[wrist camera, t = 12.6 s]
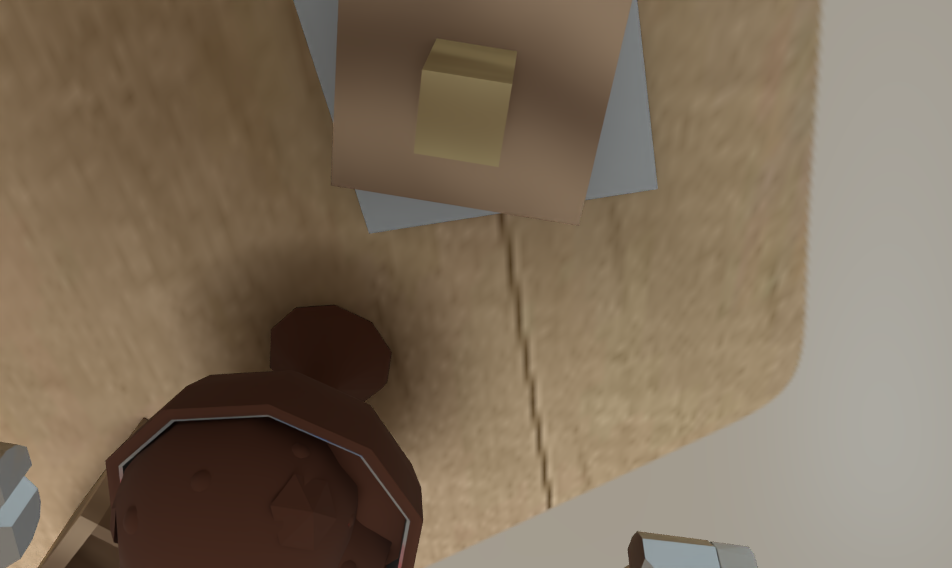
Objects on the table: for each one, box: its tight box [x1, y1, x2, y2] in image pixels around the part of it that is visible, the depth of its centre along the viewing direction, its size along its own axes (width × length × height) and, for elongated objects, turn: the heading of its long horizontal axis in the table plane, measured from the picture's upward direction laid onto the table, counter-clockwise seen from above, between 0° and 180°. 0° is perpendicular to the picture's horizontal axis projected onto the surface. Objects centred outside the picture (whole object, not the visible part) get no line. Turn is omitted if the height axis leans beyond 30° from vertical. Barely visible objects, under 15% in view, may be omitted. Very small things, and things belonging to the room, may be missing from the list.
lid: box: [331, 0, 632, 226], centre depth 25 cm, size 9×9×4 cm
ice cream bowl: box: [106, 305, 423, 568], centre depth 29 cm, size 11×11×15 cm
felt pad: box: [293, 0, 658, 234], centre depth 27 cm, size 11×11×1 cm
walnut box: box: [38, 418, 148, 568], centre depth 39 cm, size 9×9×6 cm
